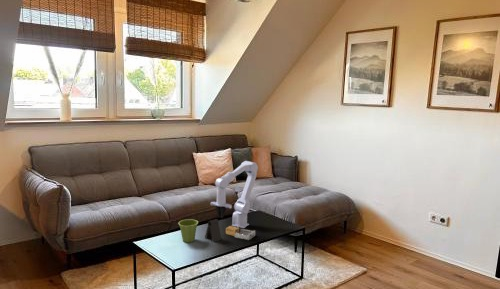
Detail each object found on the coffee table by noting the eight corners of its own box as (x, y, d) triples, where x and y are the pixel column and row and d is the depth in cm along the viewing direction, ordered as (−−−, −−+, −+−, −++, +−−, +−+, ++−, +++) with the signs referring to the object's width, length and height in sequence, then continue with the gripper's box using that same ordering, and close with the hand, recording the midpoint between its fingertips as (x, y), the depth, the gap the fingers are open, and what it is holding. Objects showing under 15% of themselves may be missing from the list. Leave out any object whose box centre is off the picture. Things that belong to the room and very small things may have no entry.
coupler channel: (234, 237, 228) (234, 232, 228) (241, 232, 236) (241, 228, 236) (249, 240, 224) (249, 235, 223) (255, 235, 232) (255, 230, 231)
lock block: (225, 234, 233) (225, 228, 233) (229, 231, 238) (230, 225, 237) (234, 236, 230) (235, 230, 229) (239, 233, 234) (239, 227, 234)
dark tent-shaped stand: (221, 239, 224) (221, 220, 222) (214, 242, 219) (214, 223, 218) (212, 235, 230) (212, 217, 228) (204, 238, 226) (204, 219, 224)
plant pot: (190, 235, 230) (190, 217, 228) (202, 240, 222) (202, 222, 220) (174, 240, 222) (174, 222, 220) (185, 246, 213) (185, 227, 212)
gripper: (208, 196, 234) (208, 217, 235) (228, 200, 227) (227, 221, 229) (213, 194, 240) (213, 214, 242) (233, 197, 234) (233, 217, 236)
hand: (220, 217), depth 236 cm, fingers closed
